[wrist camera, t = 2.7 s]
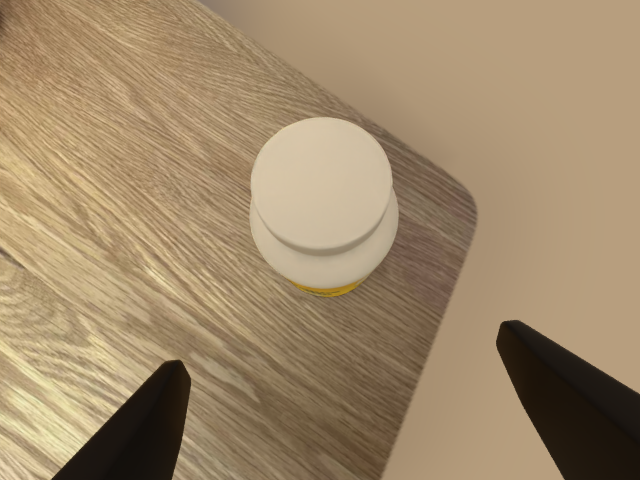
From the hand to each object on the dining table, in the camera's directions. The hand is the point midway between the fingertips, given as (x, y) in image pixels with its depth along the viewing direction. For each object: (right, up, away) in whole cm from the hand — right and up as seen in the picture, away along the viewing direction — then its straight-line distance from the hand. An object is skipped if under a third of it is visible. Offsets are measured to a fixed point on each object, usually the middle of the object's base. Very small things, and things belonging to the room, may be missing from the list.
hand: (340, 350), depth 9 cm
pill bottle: (0, +2, +13) cm, 13 cm away
